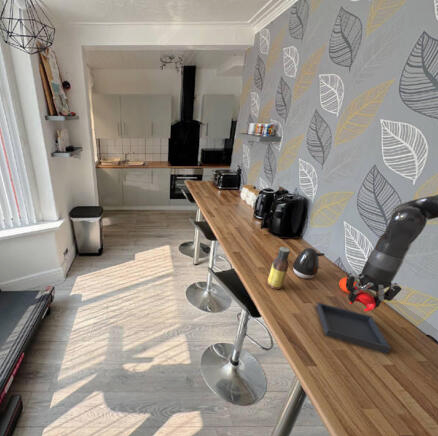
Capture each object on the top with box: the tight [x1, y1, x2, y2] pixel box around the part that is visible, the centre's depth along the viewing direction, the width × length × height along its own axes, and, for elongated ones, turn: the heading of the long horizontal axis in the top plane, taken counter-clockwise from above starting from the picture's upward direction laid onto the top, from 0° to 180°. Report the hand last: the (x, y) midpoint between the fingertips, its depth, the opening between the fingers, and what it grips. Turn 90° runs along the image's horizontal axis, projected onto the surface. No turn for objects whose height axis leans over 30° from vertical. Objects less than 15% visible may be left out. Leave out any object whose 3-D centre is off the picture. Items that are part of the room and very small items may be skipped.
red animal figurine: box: [349, 291, 377, 312], centre depth 82 cm, size 8×6×6 cm
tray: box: [315, 302, 391, 354], centre depth 87 cm, size 18×15×3 cm
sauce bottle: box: [266, 246, 291, 290], centre depth 104 cm, size 7×6×20 cm
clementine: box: [338, 276, 359, 294], centre depth 105 cm, size 8×7×7 cm
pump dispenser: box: [292, 247, 326, 280], centre depth 113 cm, size 10×10×15 cm
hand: (361, 303), depth 82 cm, fingers closed on red animal figurine, 5 cm apart
